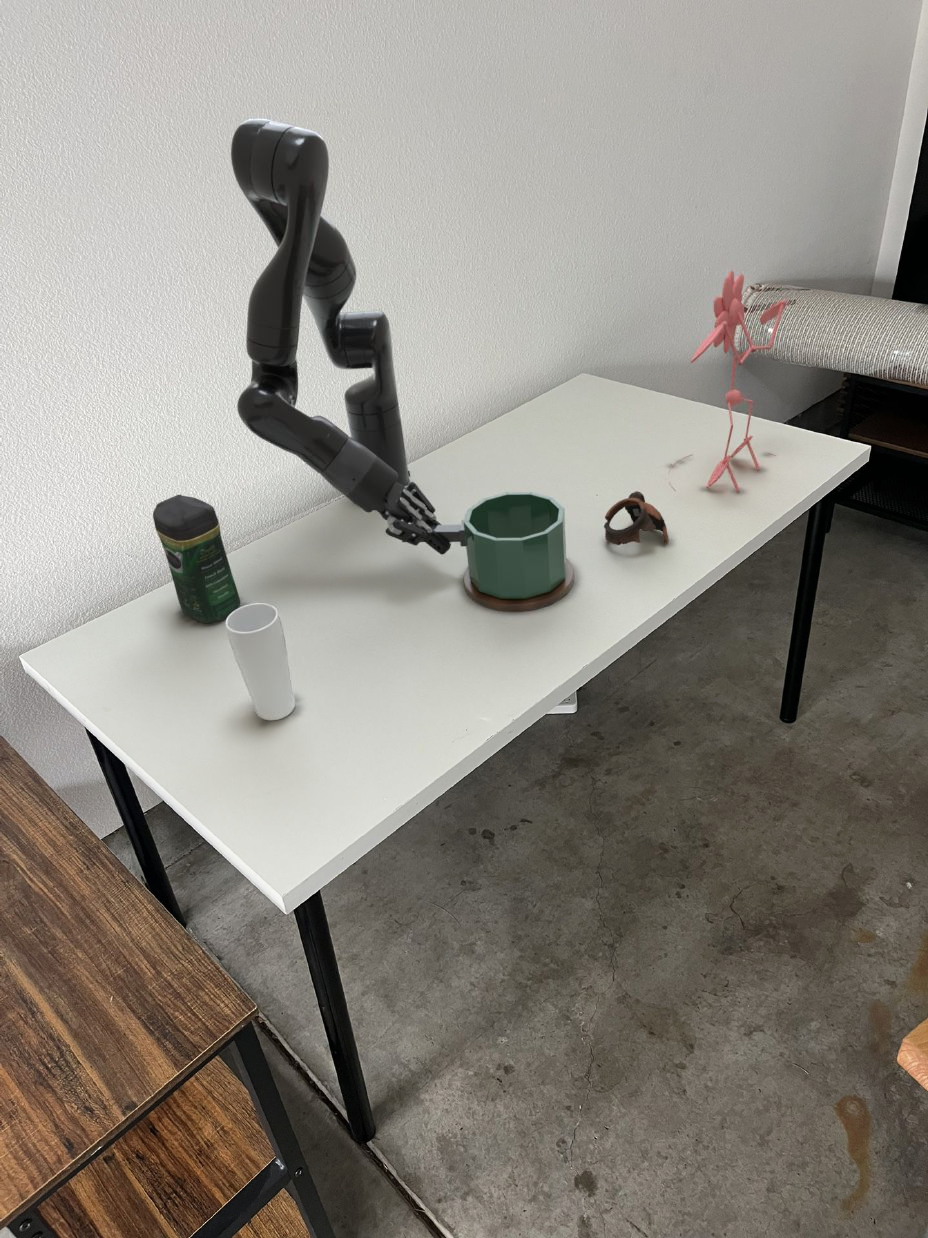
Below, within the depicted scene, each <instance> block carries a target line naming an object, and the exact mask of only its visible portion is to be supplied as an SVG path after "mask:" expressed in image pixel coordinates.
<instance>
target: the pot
mask: <svg viewBox="0 0 928 1238" xmlns="http://www.w3.org/2000/svg"><path fill="white" fill-rule="evenodd" d="M565 515H566V513H565V508H564V507H563V506H562V505H561V504H560V503H559V502H558V501H557V500H556V499H554V497H551V496H548V495H544V494H540V493H537V492H534V491H533V492H532V491H515V492H514V491H509V492H503V493H499V494H496V495H491V496H487V497H485V498H482V499H481V500H479V501H478V502H476V503H475V504H473V505H472V506H470V507H469V508H468V509H467V510H466V513H465V516H464V519H462V520H461V522H460V524H442V525H428V526H429V527H430V528H431V529H432V531H433V530H434V531H436V532H437V533H438V534H439V535H440V536H442V537H443V538H444V539H446V540H447V541H448V542H450V543H459V544H460V547H465V548H466V558H467V568H469V577H470V580H471V581H472V582H473V584H474V585H475V586H476V588H477V589H478V590H479V591H480V592H483V593H486V594H489V595H491V596H494V597H497V598H500V599H527V598H530V597H534V596H537V595H540V594H544V593H547V592H550V591H552V590H553V589H554V588H555V587H556V586H557V585H559V584H560V583H561V582H562V581H563V580H564V579H565V574H566V565H567V564H566V558H567V542H566V519H565V518H566V516H565ZM416 527H418V528H420V527H419V526H416ZM420 529H422V528H420ZM411 536H412V535H411ZM412 537H414V536H412ZM401 542H402V543H406V542H405V541H402V540H401Z"/></svg>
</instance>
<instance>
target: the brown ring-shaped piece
mask: <svg viewBox="0 0 928 1238" xmlns="http://www.w3.org/2000/svg"><path fill="white" fill-rule="evenodd" d="M623 509H624V510H625V511H626V512H627V514H628V515H629V516H630V519H631V521H632V524H630V525H629V526H627V527H625V528H622V529H614V528H613V527H611V525H610V524H611V521H612V520H613V519H614V517H615V516H616V515H617V514H618V513H619V512H620V511H621V510H623ZM604 519H605V520H606V522H605V523H604V525H603V528H604V530H605V531H604V532H605V533H604V535H605V536H604V537H605V540H606V541H607V542H608V543H611V544H613V545H616V546H620V545H627V544H629V543H633V542H634V543H638V544H641V543H642V541H641V535H640V534H641V533H640V531H643V532H648V531H649V532H650V531H652V532H653V531H655V530H656V531H659V532H661V536H662V538H663V541H664V544H665V545H668V544H669V534H668V528H667V525H666V522H665V519H664V518H663V515H662V514H661V512H660V511H659V510H658V509H657V508H656V507H655V506H654V505H652V504H651V503H648V502H646V499H645V495H644V494H643V493H642V492H641V491H637V490H635V491H634V492H631V493H630V494H629V495H628V497H626V498H623V499H621V500H619V501H617V502H616V503H615V504H614V505H612V506H611V507H610V508H609V509H608V510H607V512H606V513H605V516H604Z"/></svg>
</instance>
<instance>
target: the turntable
mask: <svg viewBox="0 0 928 1238" xmlns="http://www.w3.org/2000/svg"><path fill="white" fill-rule="evenodd" d="M566 564H567V565H566V574H565V579H564V580H563V581H562V582H561V583H560V584H559V585H557V586H556V587H555V588H554V589H553V590H552V591H550V592H547V593H544V594H540V595H537V596H534V597H530V598H527V599H500V598H497V597H494V596H491V595H489V594H486V593H483V592H480V591H479V590H478V589H477V588H476V586H475V585H474V584H473V582H472V581H471V580H470V577H469V568H468V567H467V568H466V569H465V571H464V573H463V585H464V586H463V587H464V591H465V592H466V595H467V596H468V597H469V598H470V599H471V600H472V601H473V602H475V603H476V604H478V605H480V606H481V607H484V608H487V609H490V610H495V611H501V612H512V613H513V612H514V613H515V612H527V611H533V610H539V609H541V608H544V607H547V606H549V605H552V604H554V603H556V602H559V601H561V599H563V598H564V597H566V595H567V594H569V592H570V591H571V589H572V587H573V585H574V582H575V571H574V566H573V565H572V563H571V562H570V560H569V559H568V558H567V557H566Z"/></svg>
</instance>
